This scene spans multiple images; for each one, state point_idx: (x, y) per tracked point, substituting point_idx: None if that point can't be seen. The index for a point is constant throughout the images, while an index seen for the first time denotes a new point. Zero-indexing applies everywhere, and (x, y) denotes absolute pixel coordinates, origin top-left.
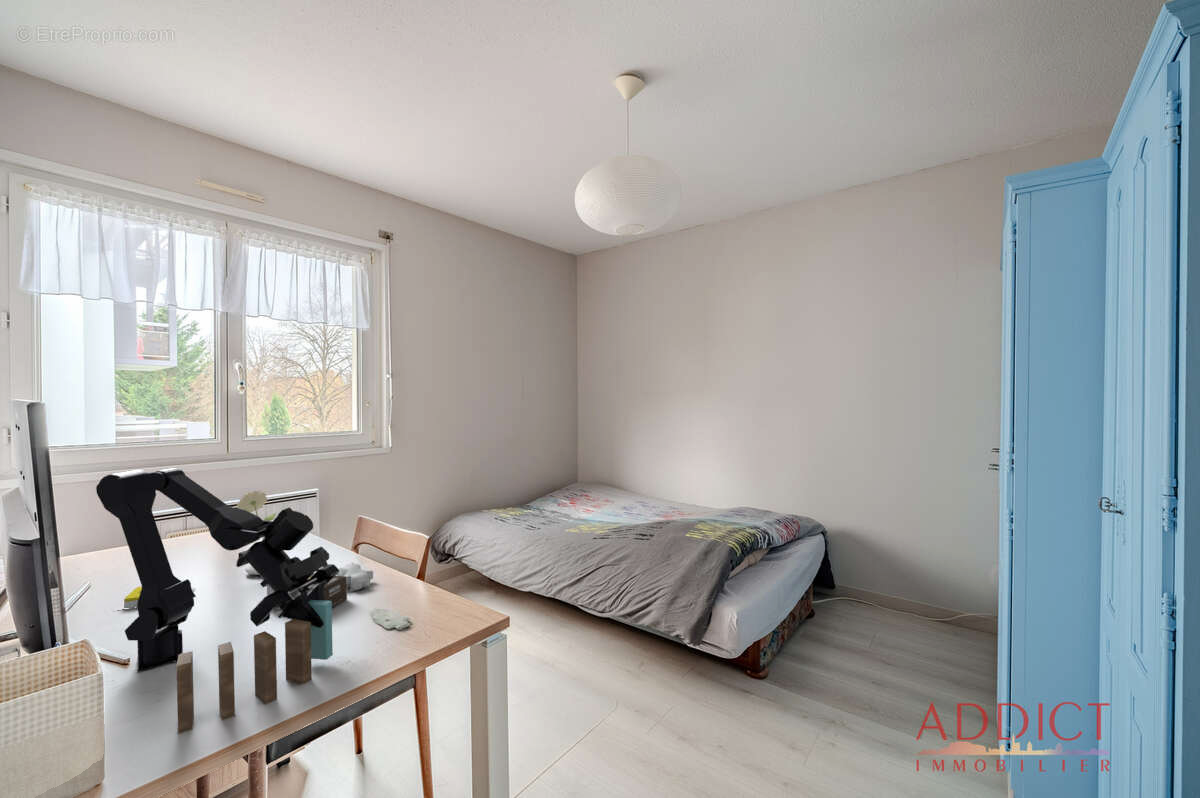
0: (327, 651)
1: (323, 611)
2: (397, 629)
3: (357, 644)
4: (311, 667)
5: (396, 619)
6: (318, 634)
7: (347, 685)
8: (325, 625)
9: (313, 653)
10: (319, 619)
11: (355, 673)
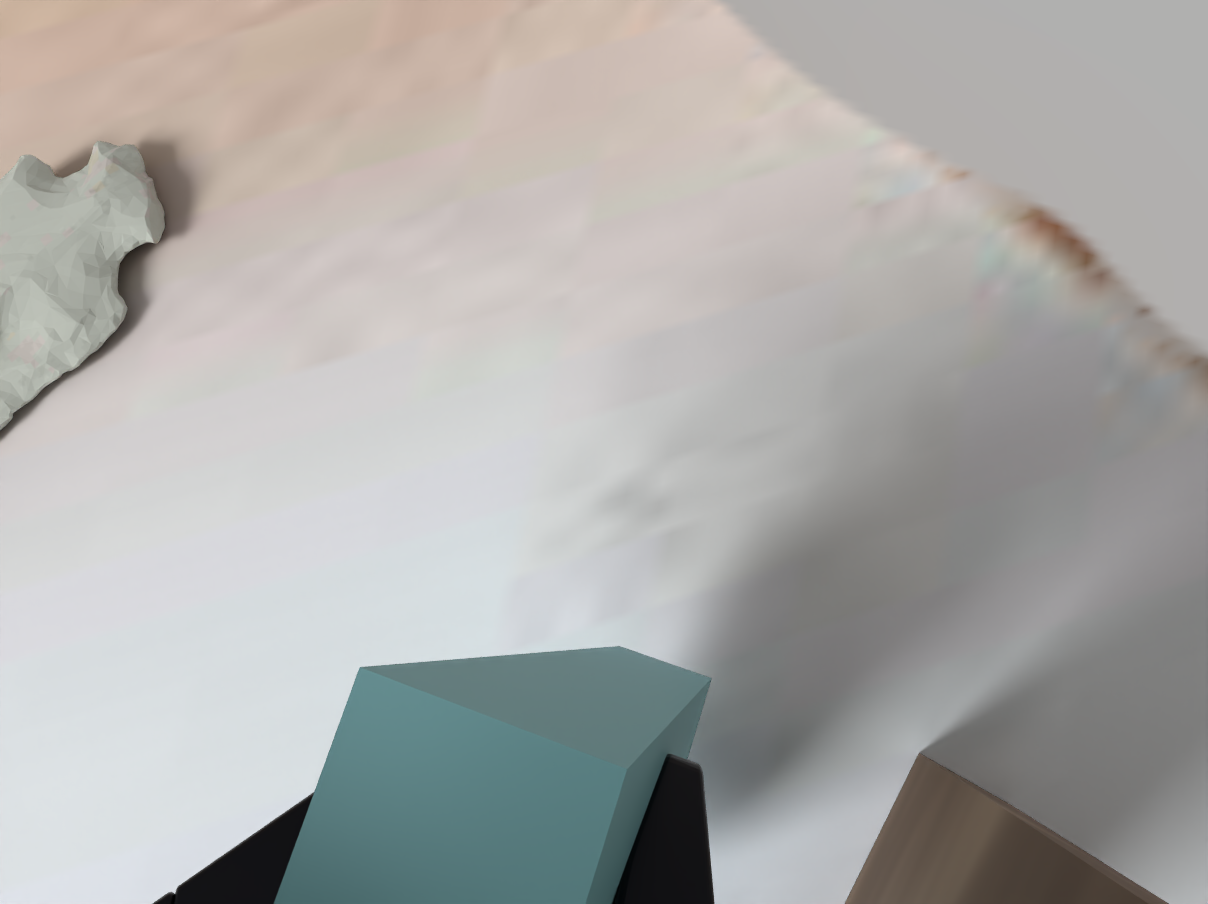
0: (689, 676)
1: (634, 801)
2: (159, 235)
3: (324, 519)
4: (944, 771)
5: (15, 256)
6: None
7: (1064, 378)
8: (680, 717)
9: None
10: (679, 855)
11: (859, 374)
